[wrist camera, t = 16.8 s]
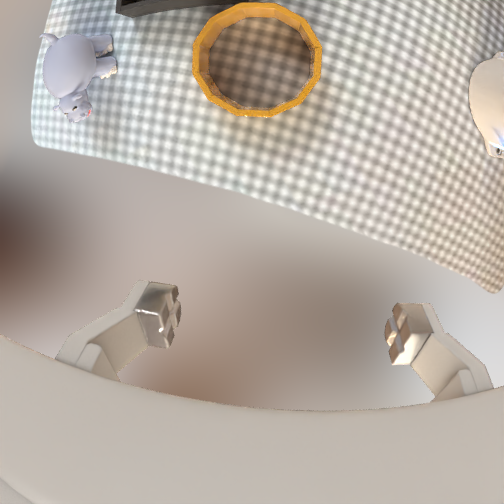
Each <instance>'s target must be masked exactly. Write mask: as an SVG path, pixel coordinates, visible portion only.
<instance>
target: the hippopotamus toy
mask: <svg viewBox="0 0 504 504" xmlns="http://www.w3.org/2000/svg"><path fill="white" fill-rule="evenodd" d="M40 37H45V38H46V39H47V40H48V41H49V42H50V43H51V45H50V47H49V48H48V50H47V52H46V54H45V58H44V62H43V80H44V83H45V86H46V88H47V90H48V91H49V92H50V94H52V95H53V96H54V97H56V98H58V99H60V102H59V105H58V106H55V107H54V108H53V111H57V110H58V109H59V108H60V109H61V110H62V112H63V113H64V114H65V115H67V118H68V119H69V122H70V123H71V122H74V123H76V122H78V121H81V120H83V119H85V118H87V117H89V116H90V115H91V113H92V106H91V104H90V103H89V102H88V95H87V92H86V90H85V89H86V88H87V86H88V85H89V83H90V82H91V80H92V78H94V77H98V76H100V78H102V79H103V78H104V77H106V78H107V77H110V76H111V74H115V73H116V72H117V67H116V59H115V58H114V57H112V56H107V57H102V58H97V59H96V56H97V57H100V55H102V56H104V55H106V54H107V52H108V51H109V52H111V51H112V50H113V48H112V37H111V36H110V35H109V34H103V35H97V36H91V37H85V36H83V35H81V34H69V35H66V36H64V37H62V38H60V39H58V38H57V37H56V36H55V35H53V34H47V33H44V34H41V35H40ZM95 54H96V55H95Z"/></svg>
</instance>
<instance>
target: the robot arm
mask: <svg viewBox="0 0 504 504" xmlns="http://www.w3.org/2000/svg"><path fill="white" fill-rule="evenodd" d="M469 103H470V109H471V113H472V116H473V119H474V121H475V124H476V126H477V127H478V129H479V131H480V132H481V134H482V136H483V138H484V141H485V146H486V150H487V152H488V154H489V155H490V156H493V157H500V158H504V52H500V51H498V52H497V53H496V54H495V55H494V56H493V58H492V59H490V60H486V61H483V62H481V63H480V64H479V65H477V67H476V68H475V69H474V71H473V73H472V75H471V79H470V83H469ZM497 149H498V151H497ZM178 294H179V293H178V288H177V286H175V285H170V284H163V283H157V282H149V281H143V280H139V281H137V282H136V283H135V285H134V286H133V288H132V290H131V291H130V293H129V294H128V296H127V298H126V299H125V301H124V303H123V304H122V306H121V308H116V309H114V310H112V311H110V312H109V313H107V314H105V315H103V316H102V317H100V318H98V319H96V320H95V321H93V322H91V323H89V324H88V325H86V326H84V327H83V328H81V329H79V330H77V331H76V332H74V333H72V334H71V335H69V336H68V338H67V340H66V341H65V343H64V344H63V346H62V348H61V350H60V351H59V353H58V354H57V356H56V358H55V359H53V358H50V357H47V356H45V355H43V354H41V353H39V352H36V351H34V350H32V349H30V348H27V347H25V346H23V345H21V344H19V343H17V342H15V341H13V340H11V339H9V338H7V337H5V336H3V335H2V334H0V504H504V386H501V387H498V388H494V387H493V385H492V382H491V379H490V377H489V374H488V372H487V369H486V367H485V365H484V364H483V363H482V362H481V361H480V360H479V359H477V358H476V357H475V356H474V355H473V354H472V353H471V352H470V351H468V350H467V349H466V348H465V347H464V346H463V345H461V344H460V343H459V342H458V341H457V340H456V339H454V338H453V337H452V336H451V335H450V334H449V333H445V332H444V330H443V328H442V325H441V323H440V321H439V319H438V317H437V315H436V313H435V310H434V308H433V306H432V305H431V304H430V303H419V304H418V303H417V304H416V303H397V304H396V305H395V306H394V308H393V310H392V311H393V314H394V315H393V316H392V317H390V318H389V319H388V321H387V323H386V326H385V339H386V342H387V344H389V345H390V346H391V348H390V350H389V355H390V358H391V362H392V365H406V364H411V367H412V368H413V369H414V370H415V372H416V373H417V374H418V375H419V376H420V378H421V379H422V380H423V382H424V383H425V384H426V385H427V387H428V388H429V389H430V390H431V392H432V393H433V394H434V395H435V398H434V399H433V400H432V401H431V402H430V403H425V404H417V405H410V406H401V407H392V408H381V409H368V410H367V409H366V410H344V411H304V410H282V409H266V408H254V407H245V406H236V405H229V404H221V403H214V402H207V401H202V400H196V399H190V398H185V397H180V396H175V395H170V394H165V393H161V392H157V391H152V390H148V389H144V388H140V387H136V386H133V385H129V384H126V383H122V382H121V381H120V379H119V378H118V376H117V374H116V373H118V372H119V371H120V370H121V369H122V368H124V367H125V366H126V365H127V364H128V363H129V362H131V361H132V360H133V359H134V358H135V357H137V356H138V355H139V354H140V353H141V352H143V351H144V350H145V349H146V348H147V347H148V346H154V347H160V348H167V349H169V348H170V345H171V343H172V340H173V338H174V332H173V329H175V328H176V327H178V324H179V322H180V317H181V305H180V302H179V301H178V300H177V296H178Z"/></svg>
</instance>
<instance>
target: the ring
mask: <svg viewBox="0 0 504 504" xmlns="http://www.w3.org/2000/svg"><path fill="white" fill-rule="evenodd" d="M247 17H264V18H276V19H278V20H280V21H282V22H283V23H285V24H287V25H289V26H291V27H292V28H294V29H296V30H297V31H299V33H300V35H301V36H302V38H303V40H304V42H305V43H306V45H307V47H308V48H309V50H310V52H311V60H310V77H309V78H308V80H307V81H306V82H305V84H304V85H303V86H302V88H301V89H300V91H299V92H298V93H297V95H296V96H295V97H294V98H292V99H289V100H287V101H285V102H282V103H280V104H278V105H276V106H274V107H271V108H265V107H244V106H242V105H240V104H239V103H237V102H235V101H233V100H232V99H230V98H228V97H226V96H224V95H223V94H221V92H220V91H219V89H218V87H217V86H216V84H215V82H214V81H213V79H212V77H211V76H210V74H209V56H210V48H211V47H212V45H213V44H214V42H215V41H216V39H217V38H218V36H219V35H220V33H221V32H222V31H223V29H224V28H226V27H228V26H230V25H232V24H234V23H236V22H238V21H240V20H243V19H245V18H247ZM321 60H322V46H321V44H320V42H319V41H318V39H317V37H316V35H315V34H314V32H313V30H312V29H311V27H310V25H309V24H308V22H307V20H305V19H304V18H303V17H301V16H299V15H297V14H295V13H294V12H292V11H290V10H288V9H286V8H284V7H283V6H281V5H279V4H277V3H254V2H248V3H239V4H237V5H234V6H232V7H230V8H228V9H226V10H224V11H222V12H220V13H218V14H216V15H215V16H213V17H211V18H210V19H209V20H208V22H207V23H206V25H205V26H204V28H203V29H202V31H201V32H200V34H199V35H198V37H197V38H196V40H195V41H194V43H193V62H192V73H193V76H194V77H195V79H196V81H197V82H198V84H199V85H200V87H201V89H202V90H203V92H204V94H205V95H206V97H207V99H208V100H209V101H211V102H213V103H215V104H217V105H218V106H220V107H222V108H224V109H226V110H227V111H229V112H231V113H233V114H234V115H236V116H256V117H272V116H274V115H277V114H279V113H281V112H283V111H286V110H288V109H290V108H292V107H295V106H297V105H299V104H301V103H302V102H303V101H304V99H305V98H306V97H307V95H308V94H309V93H310V91H311V90H312V88H313V87H314V86H315V84H316V83H317V82H318V81H319V79H320V76H321Z"/></svg>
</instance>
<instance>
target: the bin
mask: <svg viewBox="0 0 504 504" xmlns="http://www.w3.org/2000/svg"><path fill="white" fill-rule="evenodd" d="M248 1H249V0H117V2H116V13H118V14H122V15H125V16H128V17H131V18H134V17H138V16H142V15H147V14H152V13H157V12H162V11H168V10H174V9H181V8H189V7H197V6H208V5H222V4H239V3H248Z"/></svg>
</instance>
